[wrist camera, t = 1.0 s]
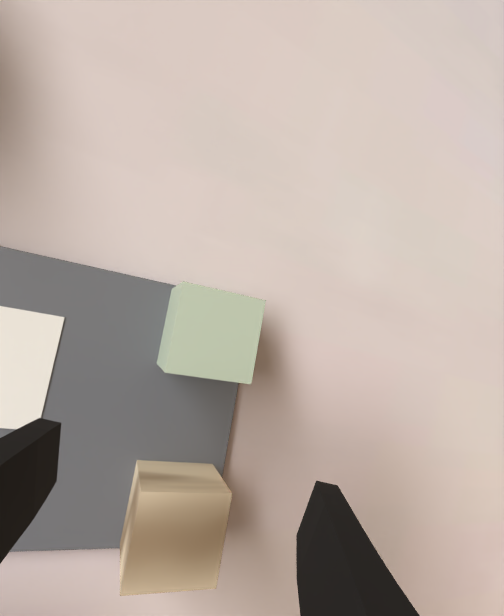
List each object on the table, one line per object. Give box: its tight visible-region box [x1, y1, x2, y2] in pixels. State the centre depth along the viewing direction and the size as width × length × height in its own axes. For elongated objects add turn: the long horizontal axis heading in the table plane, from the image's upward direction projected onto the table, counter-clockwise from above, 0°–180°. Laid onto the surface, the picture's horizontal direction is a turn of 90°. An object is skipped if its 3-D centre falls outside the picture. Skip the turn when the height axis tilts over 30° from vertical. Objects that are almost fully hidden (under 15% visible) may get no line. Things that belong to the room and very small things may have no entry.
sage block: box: [157, 282, 266, 384], centre depth 20 cm, size 4×4×4 cm
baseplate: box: [0, 246, 238, 552], centre depth 19 cm, size 15×17×1 cm
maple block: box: [120, 460, 232, 596], centre depth 18 cm, size 4×4×4 cm
